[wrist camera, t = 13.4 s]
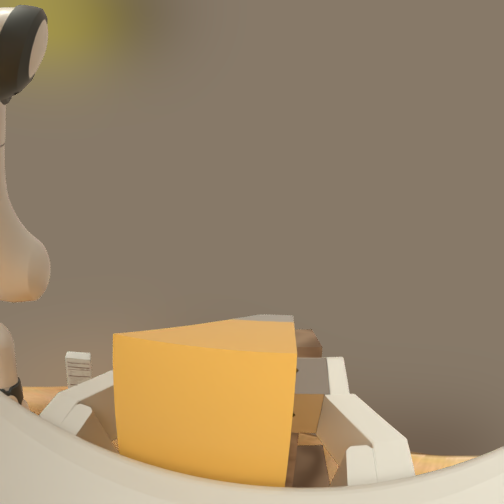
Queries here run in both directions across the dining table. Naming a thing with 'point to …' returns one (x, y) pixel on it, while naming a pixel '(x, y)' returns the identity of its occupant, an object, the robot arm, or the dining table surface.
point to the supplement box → (78, 368)
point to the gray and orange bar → (209, 398)
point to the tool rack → (300, 457)
